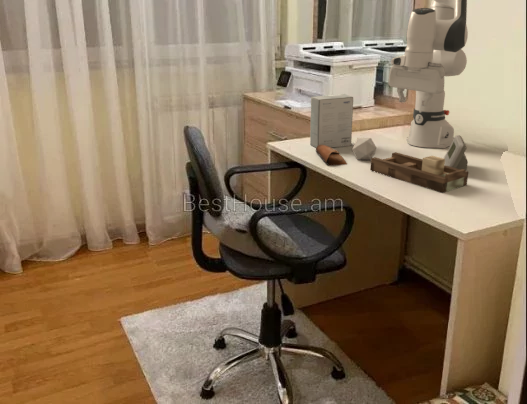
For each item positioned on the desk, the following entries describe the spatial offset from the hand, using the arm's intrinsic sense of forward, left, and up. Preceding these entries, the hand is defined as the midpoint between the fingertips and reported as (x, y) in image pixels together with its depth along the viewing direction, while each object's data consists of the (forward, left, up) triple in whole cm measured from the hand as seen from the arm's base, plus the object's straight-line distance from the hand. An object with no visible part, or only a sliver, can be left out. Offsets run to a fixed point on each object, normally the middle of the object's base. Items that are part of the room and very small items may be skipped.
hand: (413, 104), depth 190 cm
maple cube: (+1, +11, -21) cm, 24 cm away
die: (-2, -22, -24) cm, 33 cm away
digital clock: (-18, +6, -24) cm, 31 cm away
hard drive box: (-6, -44, -24) cm, 51 cm away
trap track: (+1, +5, -24) cm, 25 cm away
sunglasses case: (+7, -30, -25) cm, 40 cm away
